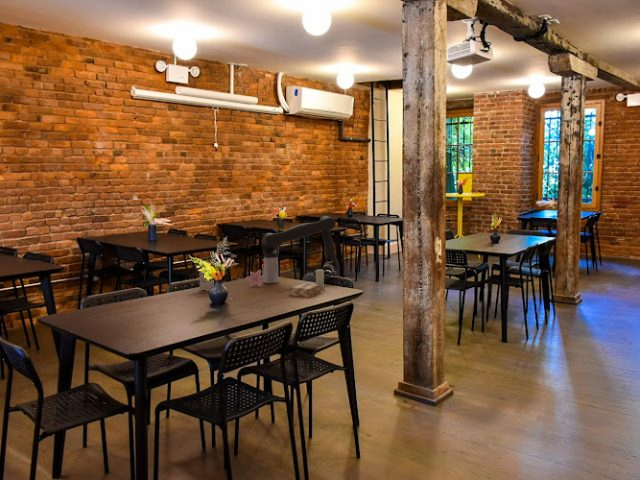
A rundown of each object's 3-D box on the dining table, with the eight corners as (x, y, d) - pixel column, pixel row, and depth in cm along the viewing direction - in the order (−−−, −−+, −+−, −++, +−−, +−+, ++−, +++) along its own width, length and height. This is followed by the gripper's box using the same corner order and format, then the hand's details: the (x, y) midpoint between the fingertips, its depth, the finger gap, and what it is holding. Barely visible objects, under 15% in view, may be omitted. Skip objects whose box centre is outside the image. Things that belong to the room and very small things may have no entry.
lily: (242, 287, 389) (243, 276, 383) (252, 277, 397) (252, 266, 392) (258, 293, 385) (259, 282, 379) (267, 283, 394) (268, 272, 388)
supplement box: (211, 291, 371) (210, 265, 369) (199, 290, 375) (198, 264, 373) (220, 288, 380) (219, 262, 377) (208, 287, 384) (207, 262, 381)
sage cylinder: (314, 289, 373) (314, 270, 371) (318, 287, 377) (317, 269, 376) (321, 289, 371) (321, 271, 369) (325, 288, 375) (324, 269, 374)
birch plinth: (289, 295, 356) (289, 287, 356) (300, 290, 369) (300, 283, 368) (310, 297, 350) (310, 289, 350) (320, 292, 363) (320, 284, 362)
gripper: (317, 265, 400) (312, 269, 384) (337, 265, 397) (333, 269, 381) (317, 275, 401) (312, 280, 385) (337, 276, 398) (333, 281, 382)
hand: (322, 275), depth 383 cm, fingers open, 8 cm apart
